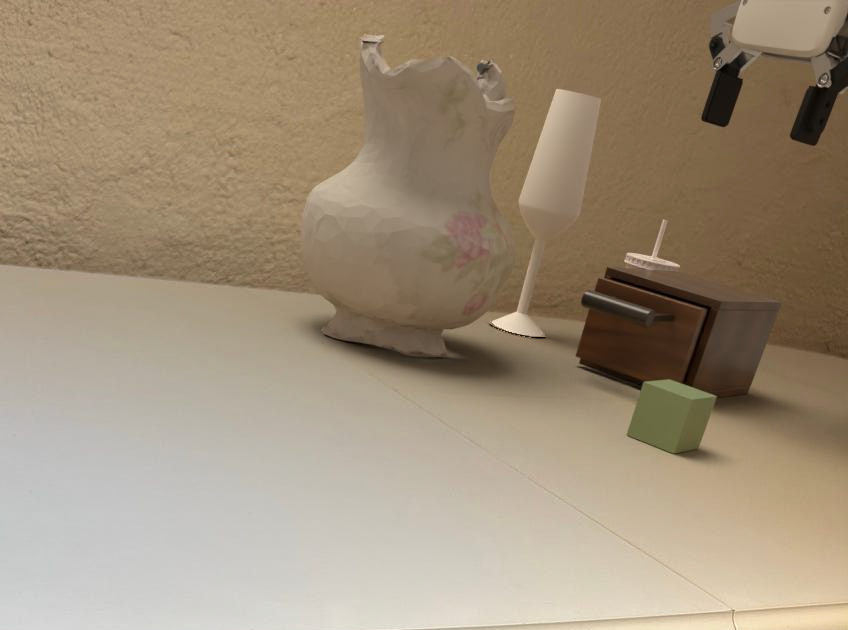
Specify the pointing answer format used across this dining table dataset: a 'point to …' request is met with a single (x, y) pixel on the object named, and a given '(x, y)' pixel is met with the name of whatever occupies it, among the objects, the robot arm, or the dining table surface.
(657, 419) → the block
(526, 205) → the champagne flute
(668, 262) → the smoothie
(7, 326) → the dining table surface
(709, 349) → the cabinet
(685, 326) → the drawer
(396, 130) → the ceramic pitcher
